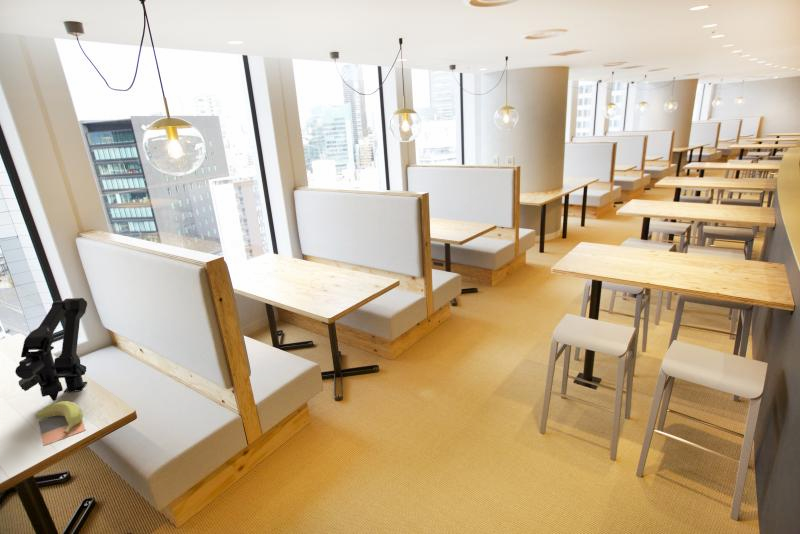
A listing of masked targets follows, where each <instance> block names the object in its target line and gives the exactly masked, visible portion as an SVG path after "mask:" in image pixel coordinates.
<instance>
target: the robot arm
mask: <svg viewBox="0 0 800 534" xmlns="http://www.w3.org/2000/svg"><path fill="white" fill-rule="evenodd" d="M87 307H88V301H86V300H85V298H83V297H73V298H65V299H63V300H56V301H53V302H52V303H51V308H50V309H49V311H48V312H47V314H46V315H45V317H44V319H43V320H42V322H41V323H40V325H39V326H38V327H37V328H35V329H34V330H32V331H31V332H30V333H28V335H27V336H26V337H25V339H24V340H23V341H24V342H23V346H22V350H21V354H20V357H21V358H24V359H22V360H20V361H19V362H18V364H19V365H18V366H16V368H15V371H14V373H15V375H16V376H17V377H18V378H20V379H19V380H18V386H19V387H20V388H21V390H23V391H24V392H26V391H29V390H30V389H31V388H33V387H34V386H36V385H38V386H39V387H40V390H39V391H40V394H41V397H48V396H49V397H50V398H51V401H52V402H55V401H57V398H58V395H59V392H62V391H63V393H65V394H66V393H73V392H78V391H77V390H80V391H83V389H84V388H85V386H86V385H87V384H86V383H88V381H84V380H83V376H84V375H85V374H86V372H87V366H85V364H81V359H80V356H79V355H78V354H77V352H78V350H77V349H78V340H79V333H80V321H81V319H82V317H83V316H84V315H85V314H86V310H87ZM63 317H64V320H65V321H64V329H63V338H62V345H61V353H60V355H58V356H57V357H55V358H54V357H53V353H52V351H53V350H54V349H55V347H54V346H52V344H53V341H54V340H55V337H54V332H55V331H56V329H57V327H58V326H59V324H60V322H61V320H62V319H63ZM63 378H64V381H65V387H66V388H65V389H63V385H62V382H61V381H60V379H63ZM85 384H86V385H85ZM84 385H85V386H84ZM83 387H84V388H83ZM82 388H83V389H82ZM72 391H73V392H72Z"/></svg>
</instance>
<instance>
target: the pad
mask: <svg viewBox="0 0 800 534" xmlns="http://www.w3.org/2000/svg"><path fill="white" fill-rule="evenodd" d="M67 427H68V425H66V426H63V427H60V428H57V429H55V430H52V431H49V432H46V433H43V434H41V433H40V435H41V440H42V445H43V447H44V446H48V445H49V444H53V443H56V442H58V441H60V440H64V439H66V438H69V437H71V436H74V435H77V434H79V433H82V432H85V431H86V428H85V424H84V422H83V420H81V421H80V422H79V423H78V424H77V425H75V426H73V427H72V428H71V429H70V431H69V434H64V433H63V432H64V431H65V430H66V429H67Z"/></svg>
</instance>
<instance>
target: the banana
mask: <svg viewBox="0 0 800 534" xmlns="http://www.w3.org/2000/svg"><path fill="white" fill-rule="evenodd" d="M53 416H64V417H65V418H66V420H67V423H68V424H69V425H68V427H67V429H66V430H65V431H64V432H63V433H64V434H69V431H70V429H71V428H72V427H73V426H75V425H77V424H78V423H79V422H80V421H81V420H82V419H83V417H84V414H83V411H82V409H81V408H80V406H78V405H77V404H76V403H74V402H72V401H67V400H65V401H58V402H55V403H52V404H49V405H47V406H45V407H43V408H42V409H41V410H39V411H38V412H37V413H36V414H35V418H36V419H44V418H45V419H46V418H50V417H53ZM82 421H83V420H82Z"/></svg>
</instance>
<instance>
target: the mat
mask: <svg viewBox="0 0 800 534" xmlns="http://www.w3.org/2000/svg"><path fill="white" fill-rule="evenodd" d="M38 425H39V429H40V435H41V434H43V433H46V432H49V431H52V430H55V429H57V428H60V427H63V426H66V425H69V424H68V423H67V420H66V418H65V417H64V416H50V417H46V418H45V419H44V418H43V419H41V420H39V421H38Z"/></svg>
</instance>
